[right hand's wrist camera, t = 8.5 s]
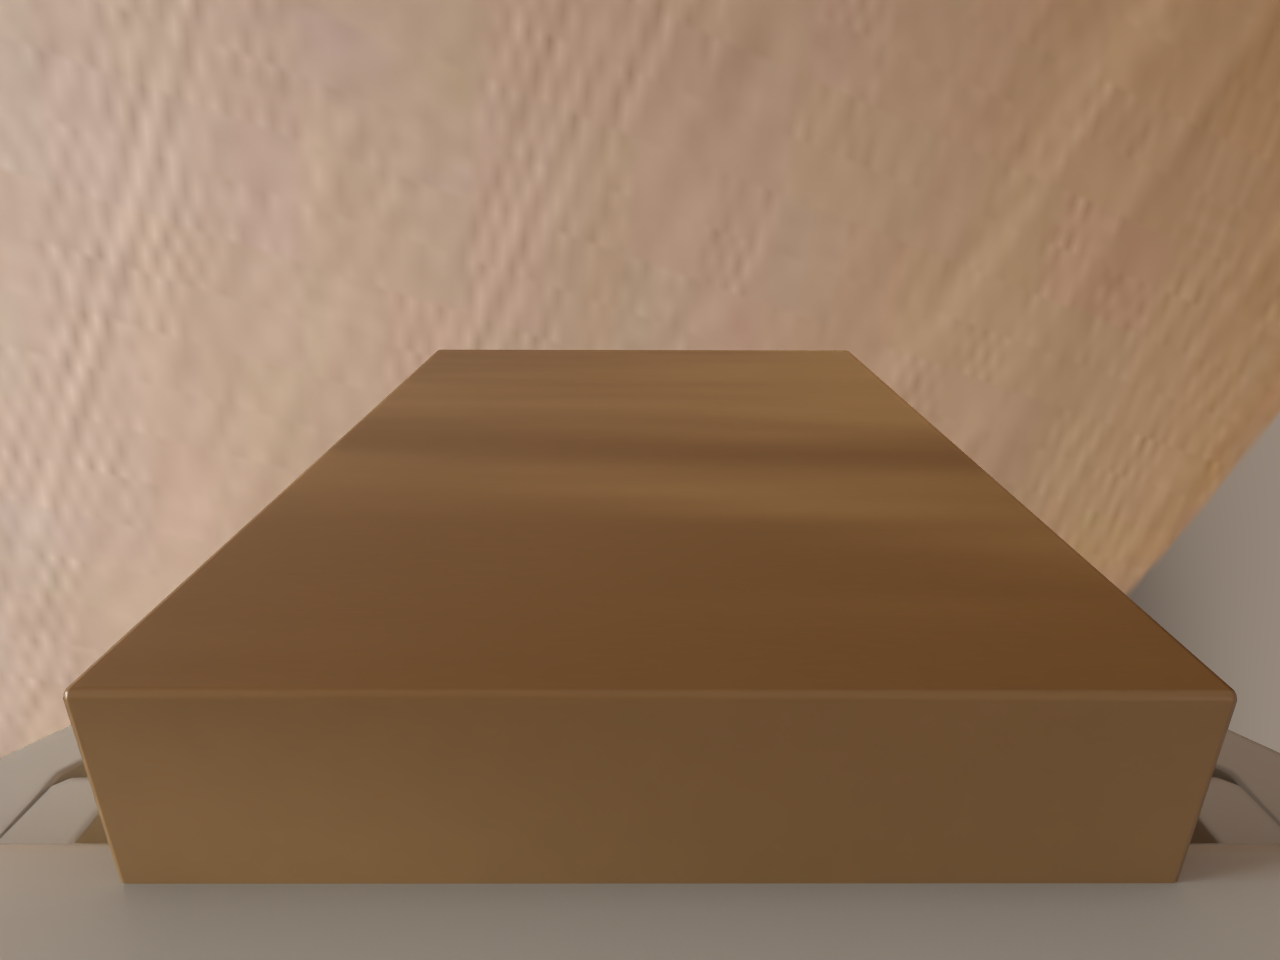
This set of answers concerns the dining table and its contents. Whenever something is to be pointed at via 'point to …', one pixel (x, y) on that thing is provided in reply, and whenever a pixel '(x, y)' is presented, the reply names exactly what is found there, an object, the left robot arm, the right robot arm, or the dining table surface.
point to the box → (647, 653)
